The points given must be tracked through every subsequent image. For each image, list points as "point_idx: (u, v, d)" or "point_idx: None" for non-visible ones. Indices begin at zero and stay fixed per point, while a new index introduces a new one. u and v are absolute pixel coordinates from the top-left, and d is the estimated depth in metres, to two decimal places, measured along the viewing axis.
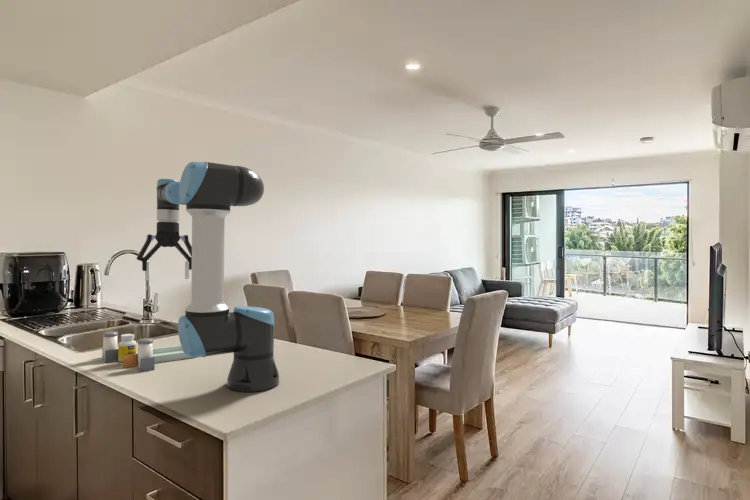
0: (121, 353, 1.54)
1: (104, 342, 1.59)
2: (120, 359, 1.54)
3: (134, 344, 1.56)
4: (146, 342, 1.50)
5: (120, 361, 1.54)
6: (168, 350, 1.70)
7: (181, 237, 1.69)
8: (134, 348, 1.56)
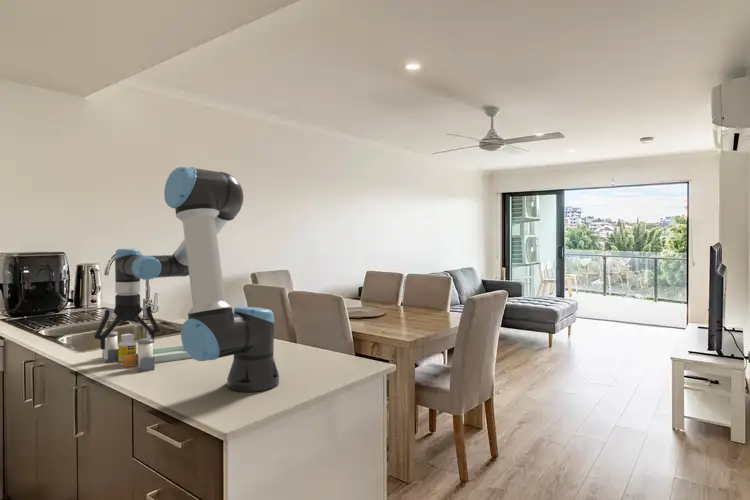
0: (121, 353, 1.54)
1: None
2: (120, 359, 1.54)
3: (134, 344, 1.56)
4: (146, 342, 1.50)
5: (120, 361, 1.54)
6: (168, 350, 1.70)
7: (143, 309, 1.58)
8: (134, 348, 1.56)
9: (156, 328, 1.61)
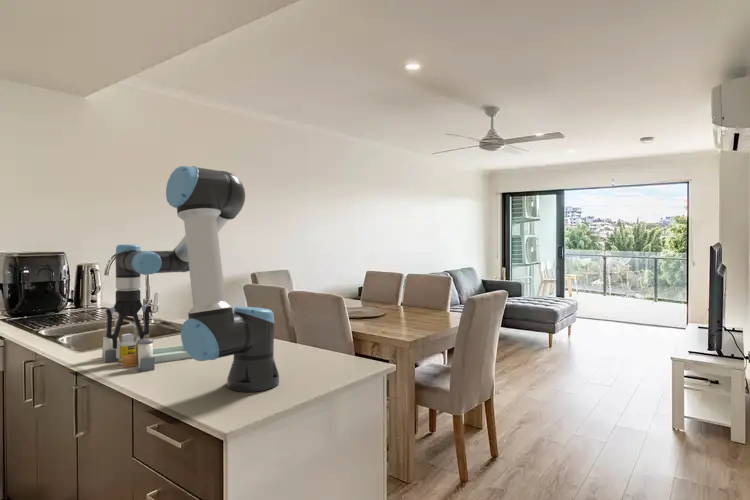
0: (121, 352, 1.54)
1: (104, 342, 1.59)
2: (120, 359, 1.54)
3: (134, 344, 1.56)
4: (146, 342, 1.49)
5: (120, 361, 1.54)
6: (168, 350, 1.70)
7: (143, 306, 1.58)
8: (134, 348, 1.56)
9: (147, 330, 1.59)
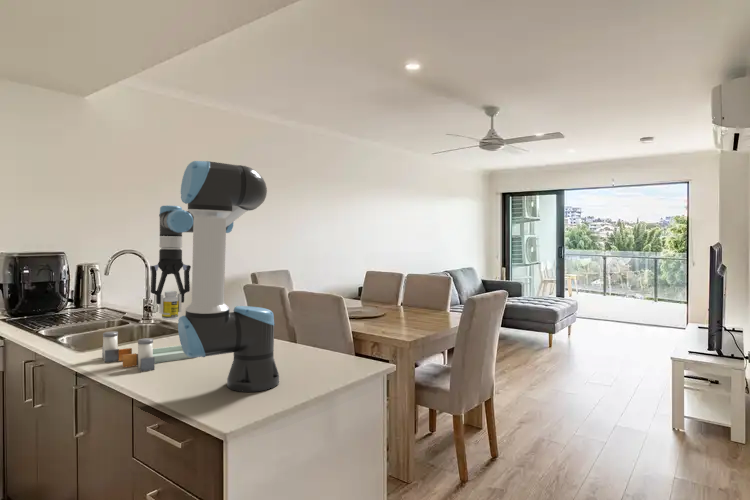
0: (165, 308, 1.62)
1: (104, 342, 1.59)
2: (164, 314, 1.63)
3: (177, 300, 1.65)
4: (146, 342, 1.50)
5: (164, 316, 1.63)
6: (168, 350, 1.70)
7: (184, 265, 1.67)
8: (177, 304, 1.65)
9: (187, 287, 1.67)
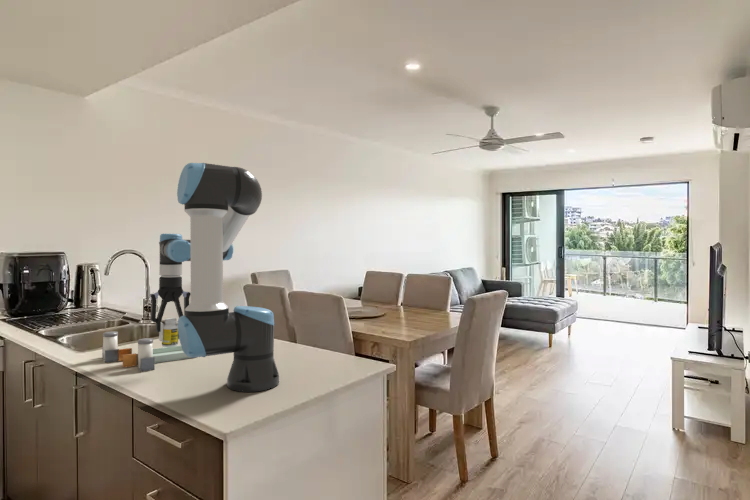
0: (165, 335, 1.63)
1: (104, 342, 1.59)
2: (164, 341, 1.63)
3: (177, 328, 1.65)
4: (146, 342, 1.50)
5: (164, 343, 1.63)
6: (168, 350, 1.70)
7: (183, 292, 1.67)
8: (177, 331, 1.65)
9: None
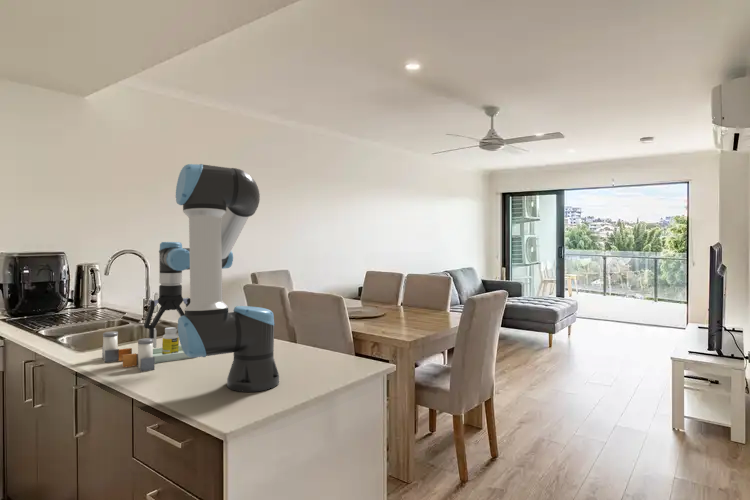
0: (165, 345, 1.63)
1: (104, 342, 1.59)
2: (164, 351, 1.63)
3: (177, 337, 1.65)
4: (146, 342, 1.49)
5: (164, 353, 1.63)
6: None
7: (184, 300, 1.68)
8: (177, 341, 1.65)
9: None
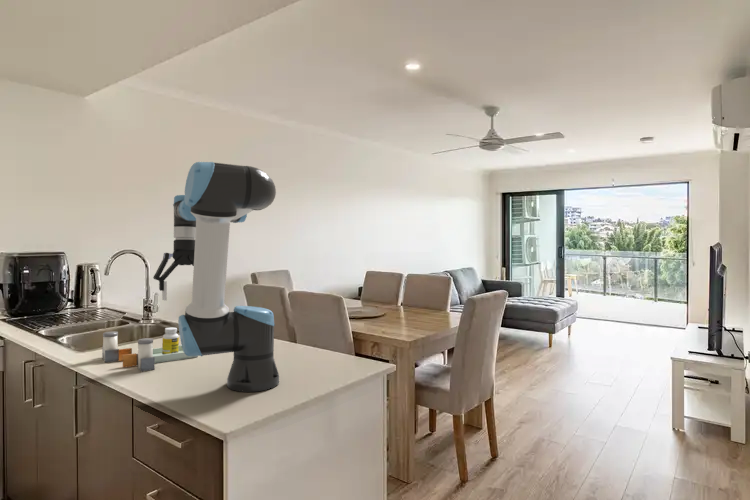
0: (165, 345, 1.63)
1: (104, 342, 1.59)
2: (164, 351, 1.63)
3: (177, 337, 1.65)
4: (146, 342, 1.50)
5: (164, 353, 1.63)
6: None
7: None
8: (177, 341, 1.65)
9: None
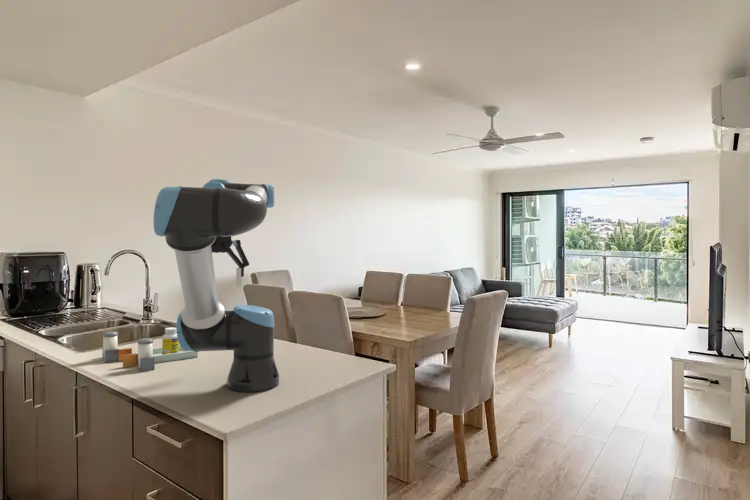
0: (165, 345, 1.63)
1: (104, 342, 1.59)
2: (164, 351, 1.63)
3: None
4: (146, 342, 1.49)
5: (164, 353, 1.63)
6: None
7: (233, 242, 1.58)
8: (177, 341, 1.65)
9: (246, 262, 1.60)
